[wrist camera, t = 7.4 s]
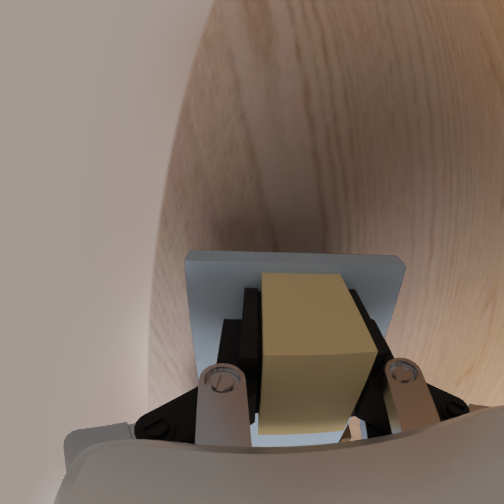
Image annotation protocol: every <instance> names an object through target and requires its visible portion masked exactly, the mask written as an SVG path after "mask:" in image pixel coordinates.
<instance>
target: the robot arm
mask: <svg viewBox="0 0 504 504" xmlns="http://www.w3.org/2000/svg"><path fill="white" fill-rule="evenodd" d="M348 290H349V292H350V294H351V296H352V298H353V300H354V302H355V304H356V306H357V308H358V310H359V312H360V314H361V316H362V318H363V320H364V323H365V325H366V327H367V329H368V331H369V333H370V335H371V337H372V339H373V342H374V344H375V346H376V348H377V350H378V353H377V355H376V358H375V361H374V363H373V366H372V368H371V371H370V373H369V376H368V378H367V380H366V383H365V385H364V388H363V390H362V392H361V394H360V397H359V399H358V401H357V403H356V405H355V408H354V410H353V412H352V414H351V416H350V417H352V416H356V417H357V418H359V419H360V429H361V436H362V440H356V441H349V442H341V443H332V444H322V445H310V446H293V447H252V442H251V431H250V425H252V424H253V423H254V422H255V413H259V404H260V390H261V375H262V356H263V350H262V294H261V292H258V288H244V299H243V311H242V319H224V320H223V326H222V332H221V338H220V344H219V350H218V357H217V363H216V364H214V365H211V366H208V367H207V368H205V369H204V370H203V371H202V373H201V374H200V377H199V384H198V387H196V388H194V389H192V390H190V391H189V392H187V393H185V394H183V395H181V396H179V397H178V398H176V399H174V400H172V401H170V402H168V403H166V404H164V405H162V406H160V407H159V408H157V409H155V410H153V411H151V412H149V413H147V414H145V415H143V416H142V417H140V418H139V419H138V421H137V422H136V423H134V424H129V425H128V423H127V422H124V423H118V424H113V425H107V426H101V427H94V428H87V429H79V430H75V431H72V432H71V433H69V434H68V435H67V437H66V438H65V440H64V455H65V463H66V471H67V473H66V475H65V477H64V479H63V481H62V483H61V486H60V488H59V490H58V493H57V496H56V499H55V502H54V504H504V405H503V406H494V407H488V406H480V405H474V404H469V406H467V404H466V403H465V402H464V401H463V400H461V399H460V398H458V397H456V396H453V395H451V394H449V393H447V392H445V391H443V390H440V389H438V388H436V387H434V386H432V385H430V384H427V383H426V381H425V379H424V376H423V374H422V372H421V370H420V368H419V366H418V365H417V364H416V363H414V362H413V361H411V360H409V359H405V358H394V357H393V355H392V353H391V351H390V349H389V347H388V345H387V343H386V341H385V339H384V337H383V335H382V333H381V331H380V329H379V328H378V326H377V324H376V322H375V320H374V319H371V318H370V316H369V314H368V312H367V310H366V308H365V307H364V305H363V303H362V301H361V299H360V297H359V295H358V294H357V292H356V290H355V289H348Z"/></svg>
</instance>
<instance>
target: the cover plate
mask: <svg viewBox="0 0 504 504" xmlns="http://www.w3.org/2000/svg"><path fill="white" fill-rule="evenodd" d="M184 262H185V274H186V284H187V295H188V304H189V313H190V322H191V330H192V338H193V346H194V353H195V360H196V367H197V374H198V380H199V377H200V374H201V373H202V371H203V370H204V369H205V368H207V367H208V366H211V365H214V364H216V363H217V357H218V350H219V344H220V338H221V332H222V326H223V320H224V319H242V311H243V299H244V288H258V292H261V294H262V350H263V356H262V375H261V390H260V404H259V413H255V422H254V423H253V424H252V425H250V431H251V442H252V447H285V446H307V445H320V444H331V443H338V442H339V440H340V438H341V436H342V435H343V433H344V431H345V429H346V427H347V425H348V423H349V421H350V419H351V417H350V416H351V414H352V412H353V410H354V408H355V405H356V403H357V401H358V399H359V397H360V394H361V392H362V390H363V388H364V385H365V383H366V380H367V378H368V376H369V373H370V371H371V368H372V366H373V363H374V361H375V358H376V355H377V353H378V350H377V348H376V346H375V344H374V342H373V339H372V337H371V335H370V333H369V331H368V329H367V327H366V325H365V323H364V320H363V318H362V316H361V314H360V312H359V310H358V308H357V306H356V304H355V302H354V300H353V298H352V296H351V294H350V292H349V290H348V289H355V290H356V292H357V294H358V295H359V297H360V299H361V301H362V303H363V305H364V307H365V308H366V310H367V312H368V314H369V316H370V318H371V319H374V320H375V322H376V324H377V326H378V328H379V329H380V331H381V333H382V335H383V337H384V338H385V335H386V332H387V329H388V326H389V323H390V320H391V317H392V314H393V311H394V308H395V305H396V301H397V298H398V294H399V291H400V287H401V284H402V280H403V276H404V272H405V269H406V265H405V264H404V263H403V262H402V261H401V260H400V259H399V258H398V257H397V256H393V255H358V254H322V253H286V252H250V251H214V250H190V251H189V253H188V254H187V256H186V258H185V260H184Z"/></svg>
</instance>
